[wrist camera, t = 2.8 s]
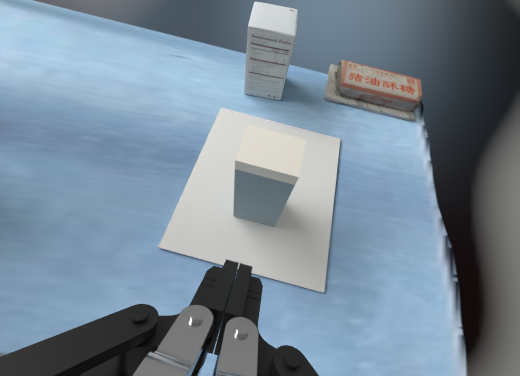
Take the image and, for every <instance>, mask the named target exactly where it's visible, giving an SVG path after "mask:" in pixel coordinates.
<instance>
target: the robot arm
mask: <svg viewBox="0 0 520 376" xmlns="http://www.w3.org/2000/svg"><path fill="white" fill-rule="evenodd" d="M238 265H239V263H238V262H234V261H231V260H227V259H226V261H225V263H224V266H223V268H220V267H216V266H213V267H212V268H210V269H209V270H207V272H206V274H205V276H204V279H203V280H202V282H201V284H200V286H199V288H198V290H197V292H196V294H195V296H194V298H193V300H192V302H191V304H190V305H189V306H188V307H186V308H185V309H183V310H182V312H181V313H180V314H177V315H173V316H158V312H157V310H156V309H155V308H154V307H152V306H150V305H147V304H138V305H134V306H131V307H128V308H126V309H123V310H121V311H118V312H115V313H113V314H110V315H108V316H105V317H103V318H100V319H97V320H95V321H92V322H90V323H87V324H84V325H82V326H79V327H77V328H74V329H72V330H69V331H66V332H64V333H61V334H59V335H56V336H53V337H51V338H48V339H46V340H43V341H40V342H38V343H35V344H33V345H30V346H28V347H25V348H22V349H20V350H17V351H15V352H12V353H9V354H7V355H4V356H2V357H0V376H199V374H200V371H201V368H202V366H203V364H204V362H205V359H206V356H207V353H211V354H212V353H213V350H214V347H215V344H216V340H217V337H218V340H217V344H216V348H215V352H214V354H215V355H218V357H217V361H216V364H215V368H214V372H213V376H319V375H318V374H317V373H316V371H315V370H314V369H313V367H312V366H311V364H310V363H309V362H308V360H307V359H306V358H305V356H304V355H303V354H302V353H301V352H300V351H299V350H298V349H296V348H294V347H292V346H287V345H284V346H280V347H279V348H277V349H276V348H274V347H273V346H271V345H269V344H268V343H267V342H266V341H264V339H263V338H262V337H261V335H260V334H259V331H258V318H259V310H260V303H261V294H262V288H263V286H262V283H261V281H260V279H259V278H256V277H252V276H251V272H252V268H253V266H249V265H245V264H242V263H240V265H239V268H238ZM237 269H238V271H237ZM236 272H237V274H236ZM235 276H236V278H235ZM234 280H235V281H234ZM221 324H222V325H221ZM220 327H221V329H220ZM219 331H220V333H219ZM218 334H219V336H218Z"/></svg>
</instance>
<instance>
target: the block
mask: <svg viewBox="0 0 520 376" xmlns="http://www.w3.org/2000/svg"><path fill="white" fill-rule="evenodd" d="M305 143H306V140H305V139H301V138H298V137H294V136H290V135H286V134H282V133H279V132H275V131H271V130H267V129H263V128H260V127H256V126H252V125H247V128H246V131H245V134H244V136H243V139H242V142H241V145H240V148H239V150H238V153H237V156H236V159H235V176H234V208H233V216H235V217H238V218H242V219H246V220H250V221H253V222H257V223H261V224H264V225H268V226H272V227H275V225H276V223H277V221H278V219H279V217H280V215H281V213H282V211H283V209H284V207H285V205H286V203H287V200H288V198H289V196H290V194H291V192H292V190H293V188H294V186H295V184H296V182H297V180H298V178H299V174H300V169H301V164H302V159H303V154H304V148H305Z"/></svg>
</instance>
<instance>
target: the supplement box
mask: <svg viewBox="0 0 520 376" xmlns="http://www.w3.org/2000/svg"><path fill="white" fill-rule="evenodd" d="M297 17H298V10H296V9H292V8H288V7H282V6H277V5H271V4H266V3H261V2H255V3H254V6H253V9H252V13H251V17H250V21H249V25H248V39H247V53H246V70H245V89H244V94H248V95H253V96H258V97H263V98H269V99H274V100H281V98H282V93H283V89H284V84H285V80H286V76H287V72H288V67H289V63H290V59H291V55H292V51H293V46H294V41H295V37H296V27H297Z"/></svg>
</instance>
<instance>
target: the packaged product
mask: <svg viewBox="0 0 520 376" xmlns="http://www.w3.org/2000/svg"><path fill="white" fill-rule="evenodd" d="M421 96H422V92H421V81H420V79H417V78H413V77H410V76H405V75H402V74H398V73H394V72H390V71H386V70H382V69H378V68H373V67H370V66H366V65H361V64H357V63H354V62H350V61H345V60H342V61H340V63H339V66H336V65H331V66H330V69H329V73H328V80H327V85H326V90H325V100H328V101H332V102H337V103H343V104H346V105H349V106H353V107H356V108H360V109H364V110H368V111H371V112H374V113H378V114H384V115H388V116H393V117H398V118H401V119H404V120H408V121H414V120H415V116H414V110H415V109H417V108H418V107H419V104H420V100H421V98H422V97H421Z"/></svg>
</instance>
